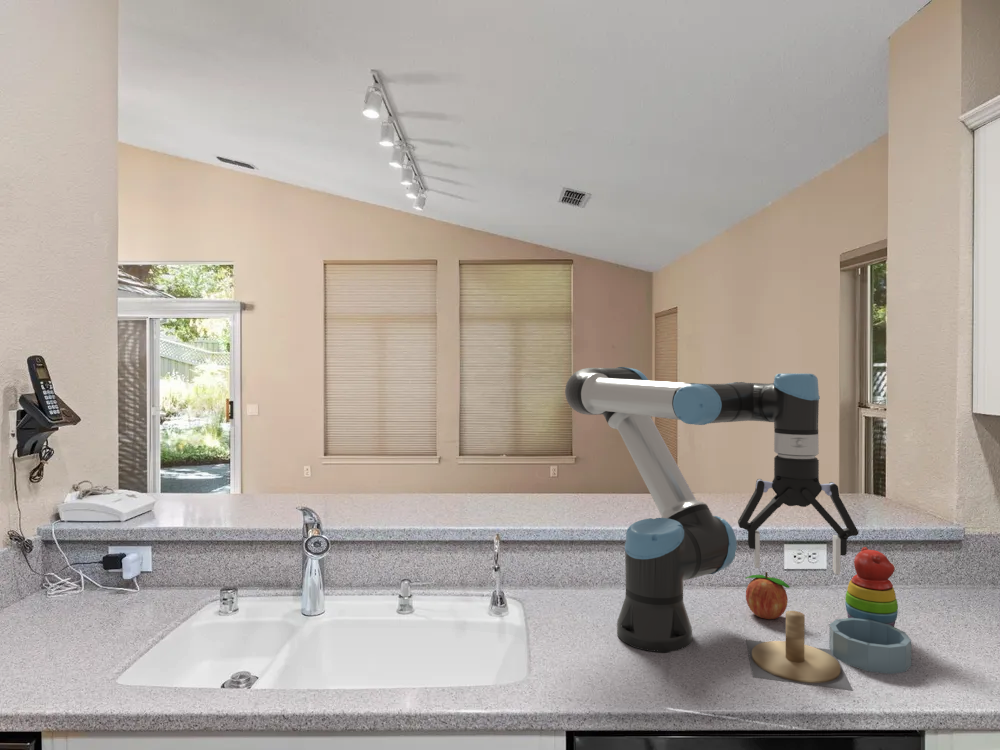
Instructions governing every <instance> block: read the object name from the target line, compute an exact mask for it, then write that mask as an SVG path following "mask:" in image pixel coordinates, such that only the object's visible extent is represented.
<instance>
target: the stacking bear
mask: <svg viewBox="0 0 1000 750" xmlns="http://www.w3.org/2000/svg"><path fill="white" fill-rule="evenodd" d="M853 564H854V569H855V572H856V574H855V575H854V576H853V577H852V578H851V580H849V582H848V585H847V589H846V592H845V610H846V613H847V614H846V615H847V618H858V619H868V620H873V621H877V622H881V623H884V624H888V625H891V626H893V627H895V625H896V620H897V618H898V613H899V611H898V610H899V606H898V599H897V596H896V595H897V594H896V592H895V588H894V584H893V583H892V582H891V580H890V579H891V577H892V576H893V574H894V573H895V568H896V567H895V565H894V564H893V563H892V562H891V561H890V560H889V559H888V557H887V556H886V555H885V554H884V553H882V552H880V551H878V550H876V549H869V548H867V546H864V547H862V548H861V550H860V551H858V553H857V554H856V555H855V557H854V559H853Z"/></svg>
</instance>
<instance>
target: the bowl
mask: <svg viewBox="0 0 1000 750" xmlns="http://www.w3.org/2000/svg"><path fill="white" fill-rule="evenodd" d="M828 649H830V650H831V652H832V654H833V656H835V657H836V658H837V659H838V661H839V660H840V661H841V662H842V663H845V665H848V666H850V667H854V668H857V669H861V670H863V671H867V672H871V673H881V674H887V675H888V674H889V675H891V674H898V673H906V672H907V671H908V670H909V668H911V666H912V639H911V638H910V637H909V635H908V634H907V633H906V632H905V631H903V630H901V629H899V628H897V627H895V626H894V627H893V626H891V625H888V624H884V623H881V622H877V621H873V620H868V619H858V618H848V617H847V618H846V617H845V618H836V619H835V620H833V621H832V622H830V624H829V648H828Z"/></svg>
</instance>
